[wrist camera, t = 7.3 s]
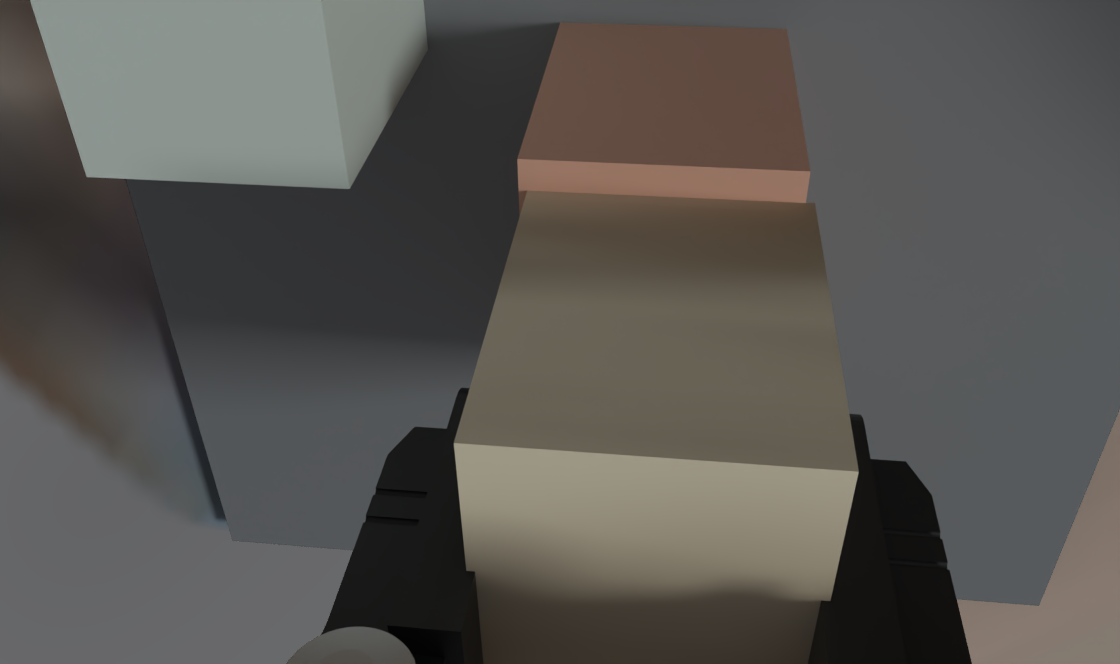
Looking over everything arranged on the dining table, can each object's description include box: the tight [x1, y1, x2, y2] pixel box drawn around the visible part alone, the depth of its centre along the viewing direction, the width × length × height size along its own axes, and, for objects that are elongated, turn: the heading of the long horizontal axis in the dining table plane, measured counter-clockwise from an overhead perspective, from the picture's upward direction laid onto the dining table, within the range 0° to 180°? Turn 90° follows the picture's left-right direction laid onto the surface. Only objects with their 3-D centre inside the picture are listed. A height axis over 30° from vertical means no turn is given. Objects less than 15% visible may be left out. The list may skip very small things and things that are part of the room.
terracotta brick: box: [517, 22, 811, 214], centre depth 16 cm, size 6×3×4 cm, turn 1°
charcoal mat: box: [126, 0, 1120, 606], centre depth 17 cm, size 20×18×1 cm
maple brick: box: [454, 191, 859, 664], centre depth 12 cm, size 6×3×4 cm, turn 1°
